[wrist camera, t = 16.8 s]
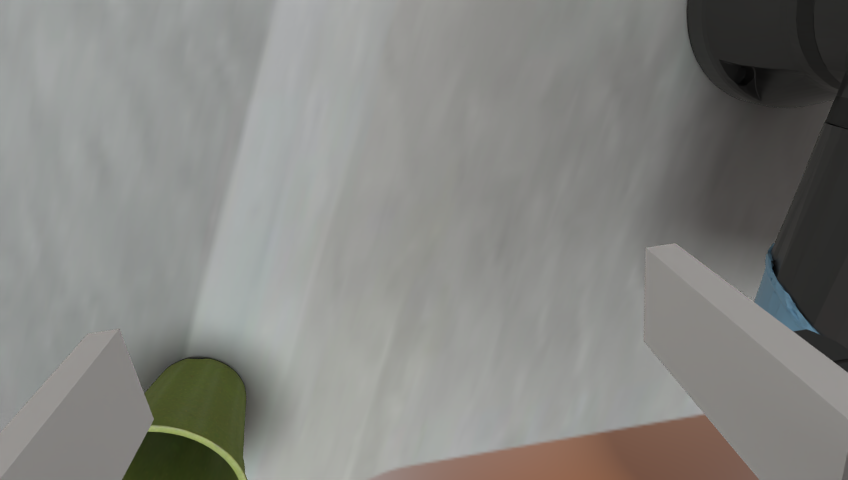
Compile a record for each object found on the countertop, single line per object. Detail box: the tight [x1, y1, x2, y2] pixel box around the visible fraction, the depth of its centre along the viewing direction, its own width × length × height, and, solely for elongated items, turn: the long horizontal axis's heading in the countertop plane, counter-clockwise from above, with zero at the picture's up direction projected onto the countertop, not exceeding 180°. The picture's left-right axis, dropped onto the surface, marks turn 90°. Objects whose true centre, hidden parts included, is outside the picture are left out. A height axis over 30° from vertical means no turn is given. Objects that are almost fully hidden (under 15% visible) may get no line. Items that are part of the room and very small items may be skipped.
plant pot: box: [122, 359, 247, 480], centre depth 43 cm, size 12×12×11 cm
